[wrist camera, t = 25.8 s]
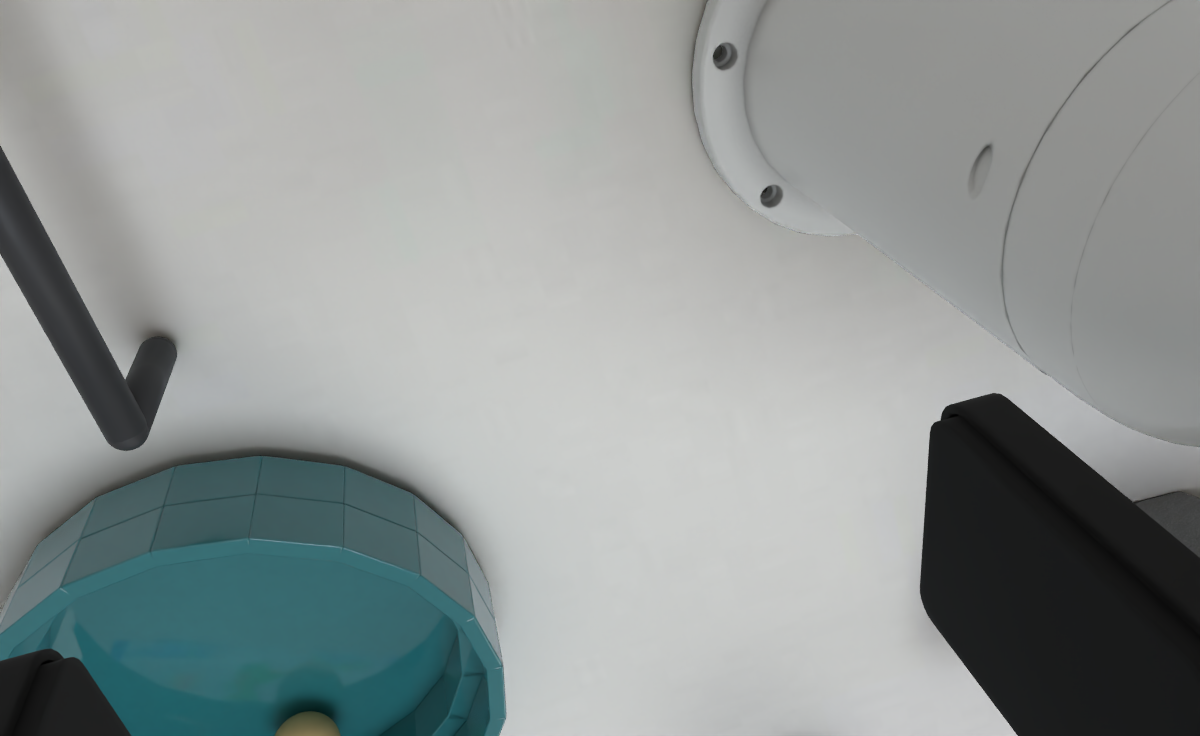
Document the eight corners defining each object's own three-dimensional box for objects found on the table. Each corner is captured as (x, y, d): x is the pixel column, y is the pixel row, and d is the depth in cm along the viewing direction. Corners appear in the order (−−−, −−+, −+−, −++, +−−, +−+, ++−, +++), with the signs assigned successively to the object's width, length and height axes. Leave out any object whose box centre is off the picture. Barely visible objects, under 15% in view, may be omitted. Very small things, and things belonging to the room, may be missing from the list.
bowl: (135, 369, 31) (96, 457, 27) (570, 549, 40) (597, 639, 36) (-66, 725, 37) (-127, 849, 32) (356, 814, 46) (356, 922, 41)
